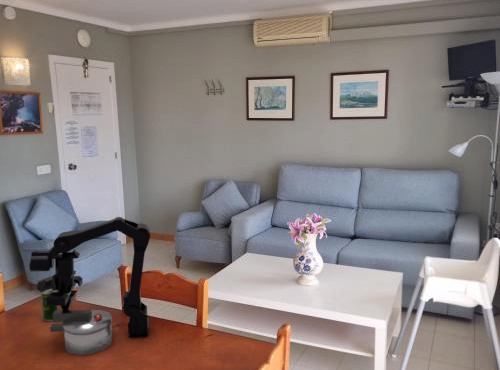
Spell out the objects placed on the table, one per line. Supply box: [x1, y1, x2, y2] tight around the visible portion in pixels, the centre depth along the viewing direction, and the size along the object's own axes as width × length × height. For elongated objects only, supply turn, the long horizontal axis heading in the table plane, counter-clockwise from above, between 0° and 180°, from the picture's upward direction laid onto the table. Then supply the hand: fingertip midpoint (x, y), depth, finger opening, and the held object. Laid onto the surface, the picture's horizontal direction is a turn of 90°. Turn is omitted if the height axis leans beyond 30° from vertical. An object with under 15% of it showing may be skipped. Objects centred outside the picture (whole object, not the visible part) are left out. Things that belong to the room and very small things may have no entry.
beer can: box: [40, 289, 59, 322], centre depth 168 cm, size 5×5×12 cm
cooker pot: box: [49, 323, 113, 356], centre depth 150 cm, size 20×15×7 cm
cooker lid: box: [52, 309, 113, 334], centre depth 149 cm, size 19×16×4 cm
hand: (65, 313), depth 151 cm, fingers closed
